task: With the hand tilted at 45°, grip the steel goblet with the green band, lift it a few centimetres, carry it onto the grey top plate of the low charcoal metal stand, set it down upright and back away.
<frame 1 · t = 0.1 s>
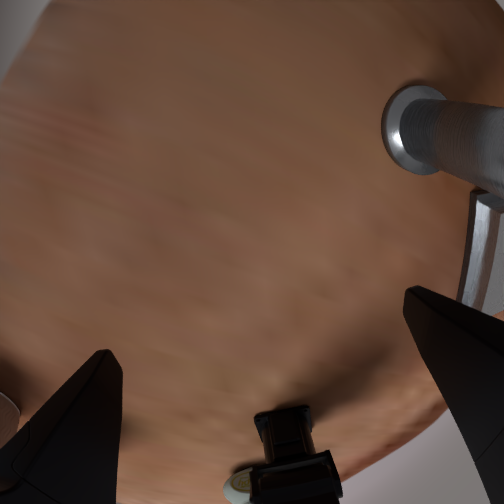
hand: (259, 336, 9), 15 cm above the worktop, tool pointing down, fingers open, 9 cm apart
air freshener: (256, 472, 41), on the worktop
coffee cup: (2, 401, 31), on the worktop
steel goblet: (418, 129, 21), on the worktop
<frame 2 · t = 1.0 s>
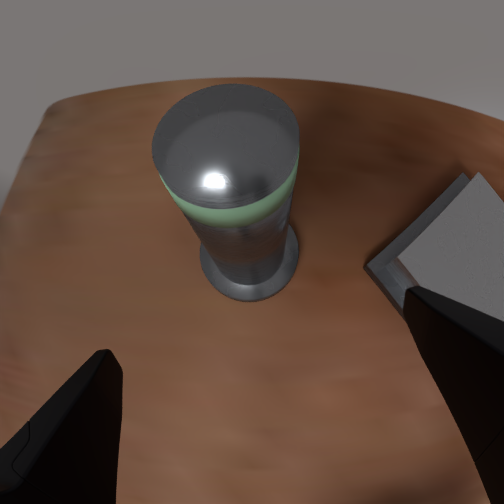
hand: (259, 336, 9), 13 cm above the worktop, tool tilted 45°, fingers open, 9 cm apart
metal stand: (468, 280, 22), on the worktop
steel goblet: (249, 254, 23), on the worktop
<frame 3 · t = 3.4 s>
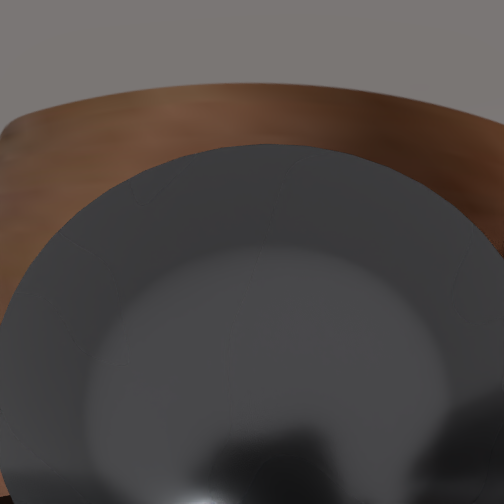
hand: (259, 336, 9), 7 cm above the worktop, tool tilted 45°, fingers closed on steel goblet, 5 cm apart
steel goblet: (269, 368, 15), on the worktop, touching gripper
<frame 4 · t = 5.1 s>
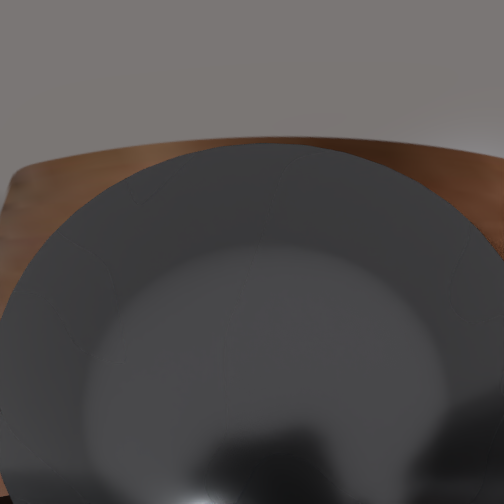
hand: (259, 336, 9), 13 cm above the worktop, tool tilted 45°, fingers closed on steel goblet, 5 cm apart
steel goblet: (269, 368, 15), point 6 cm above the worktop, touching gripper
when the fingers open (11 cm above the worktop, at t = 7.1 s): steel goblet stays where it is, resting on metal stand.
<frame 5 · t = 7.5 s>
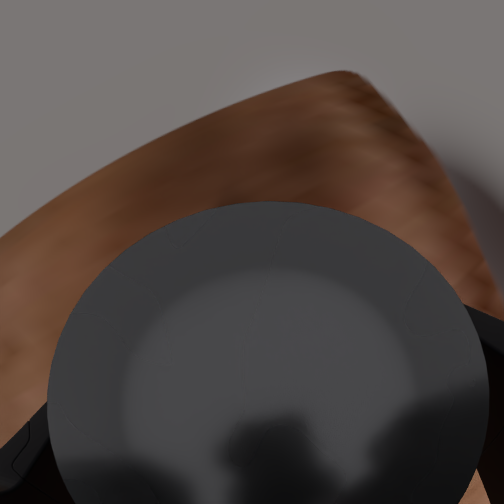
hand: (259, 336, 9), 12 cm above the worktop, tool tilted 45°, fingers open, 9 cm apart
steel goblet: (270, 368, 16), point 4 cm above the worktop, touching metal stand
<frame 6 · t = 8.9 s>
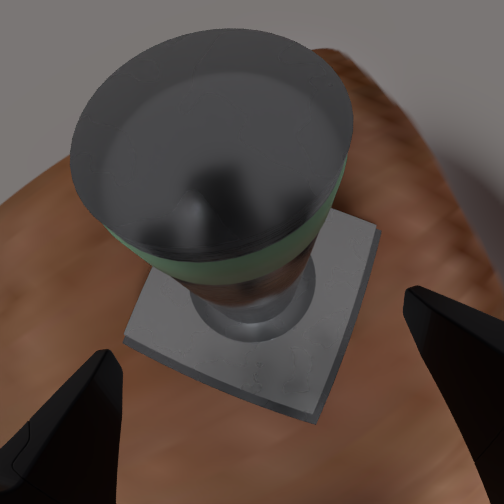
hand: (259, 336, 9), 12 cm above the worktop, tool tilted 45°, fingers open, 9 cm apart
metal stand: (255, 291, 22), on the worktop
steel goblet: (252, 281, 18), point 4 cm above the worktop, touching metal stand
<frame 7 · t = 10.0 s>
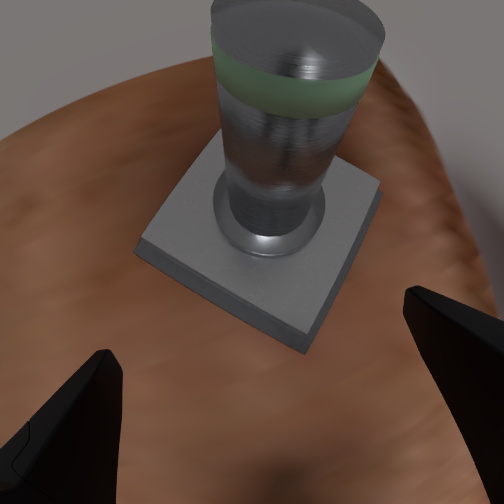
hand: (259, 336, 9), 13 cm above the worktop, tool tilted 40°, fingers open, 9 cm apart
metal stand: (264, 223, 24), on the worktop
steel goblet: (268, 205, 20), point 4 cm above the worktop, touching metal stand
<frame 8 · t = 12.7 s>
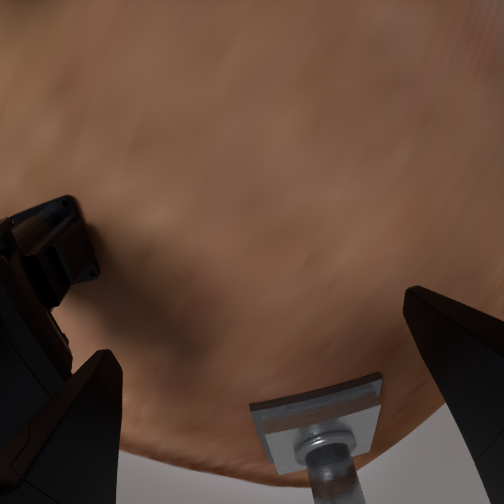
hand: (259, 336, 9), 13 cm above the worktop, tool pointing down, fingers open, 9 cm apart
metal stand: (318, 422, 33), on the worktop
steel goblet: (324, 446, 30), point 4 cm above the worktop, touching metal stand
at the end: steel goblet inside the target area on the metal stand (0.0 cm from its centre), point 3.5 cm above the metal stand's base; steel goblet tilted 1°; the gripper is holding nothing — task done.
